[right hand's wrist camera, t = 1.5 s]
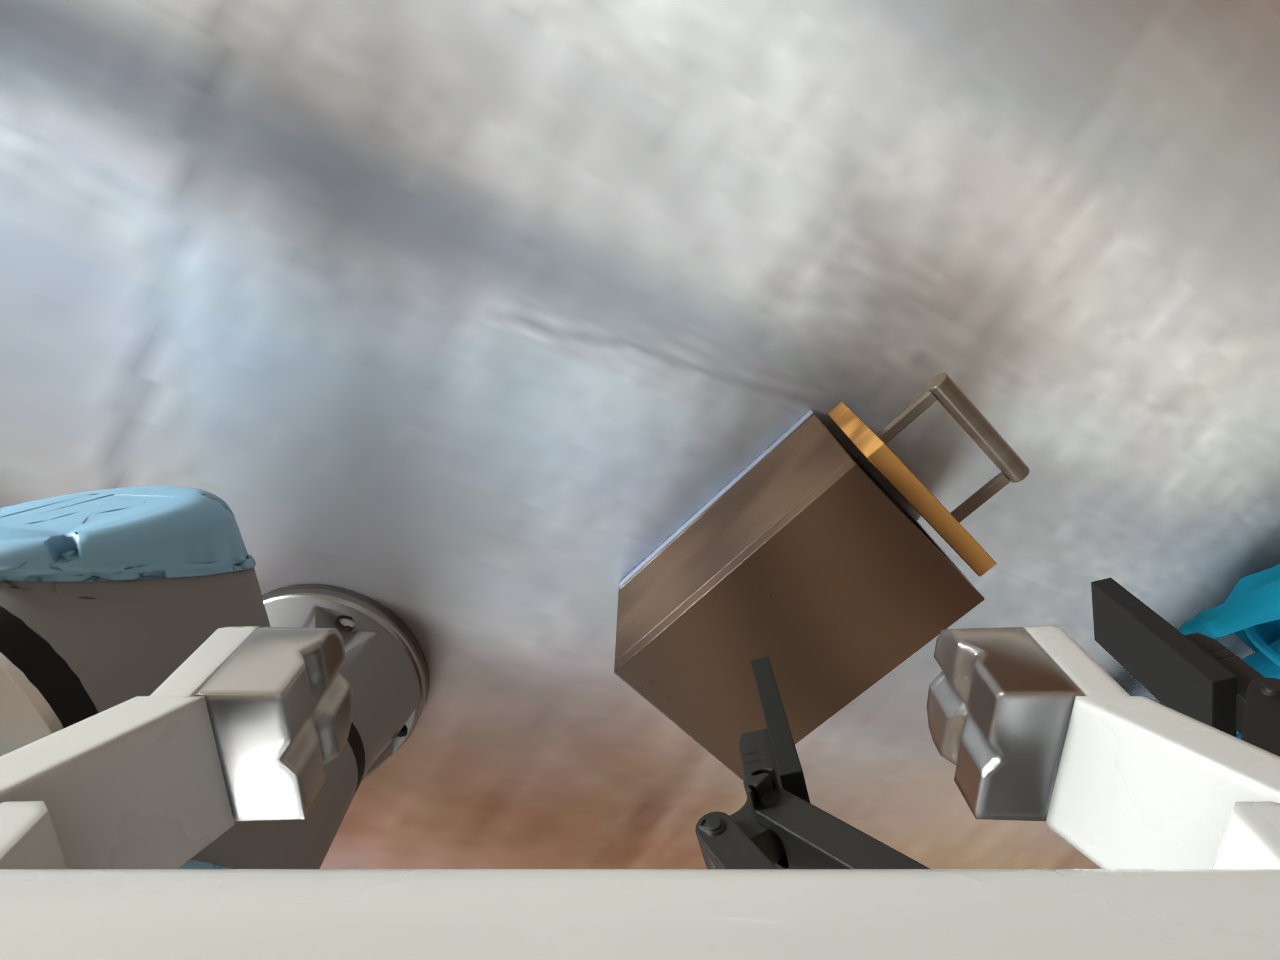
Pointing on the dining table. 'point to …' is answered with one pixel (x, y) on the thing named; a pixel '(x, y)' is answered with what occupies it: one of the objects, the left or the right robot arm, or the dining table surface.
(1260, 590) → the toy
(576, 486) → the dining table surface
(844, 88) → the dining table surface
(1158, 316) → the dining table surface
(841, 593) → the cabinet
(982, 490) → the drawer
